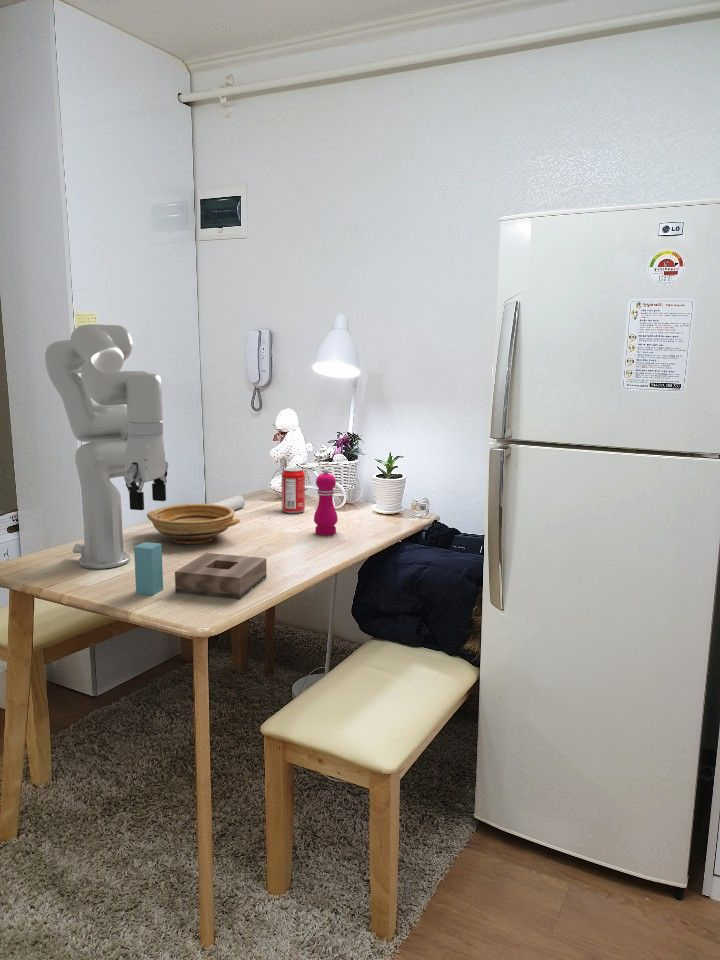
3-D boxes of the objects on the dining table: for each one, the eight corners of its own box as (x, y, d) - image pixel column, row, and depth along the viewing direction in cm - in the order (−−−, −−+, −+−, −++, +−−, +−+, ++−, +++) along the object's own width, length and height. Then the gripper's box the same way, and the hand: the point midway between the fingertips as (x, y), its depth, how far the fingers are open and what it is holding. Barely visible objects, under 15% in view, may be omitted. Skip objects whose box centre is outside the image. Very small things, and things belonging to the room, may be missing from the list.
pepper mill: (323, 537, 217) (324, 471, 214) (309, 532, 222) (309, 468, 219) (342, 533, 222) (342, 468, 218) (327, 528, 227) (327, 465, 224)
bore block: (175, 592, 167) (174, 571, 166) (206, 572, 182) (206, 552, 182) (240, 599, 163) (239, 577, 162) (266, 577, 179) (266, 558, 178)
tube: (232, 495, 257) (193, 509, 234) (245, 491, 255) (206, 505, 232) (237, 509, 258) (198, 524, 234) (249, 506, 256) (211, 521, 232)
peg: (136, 593, 166) (134, 547, 164) (146, 587, 170) (144, 542, 168) (153, 595, 165) (151, 548, 163) (163, 589, 169) (161, 543, 167)
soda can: (285, 515, 245) (285, 471, 242) (279, 510, 252) (278, 467, 249) (307, 513, 248) (307, 470, 245) (300, 508, 255) (300, 466, 252)
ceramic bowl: (257, 533, 220) (257, 508, 219) (217, 554, 198) (217, 526, 196) (172, 525, 229) (171, 500, 228) (125, 544, 207) (124, 516, 205)
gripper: (150, 425, 170) (152, 496, 173) (108, 433, 154) (112, 512, 157) (179, 426, 169) (181, 498, 172) (140, 434, 152) (143, 514, 155)
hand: (148, 505), depth 164 cm, fingers open, 9 cm apart
